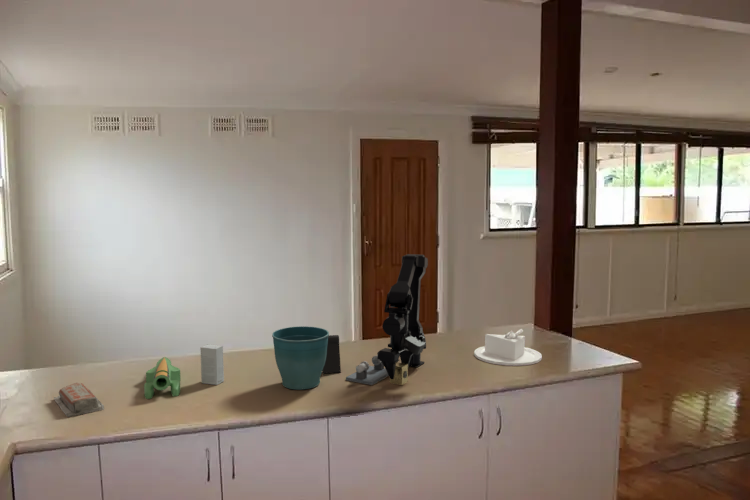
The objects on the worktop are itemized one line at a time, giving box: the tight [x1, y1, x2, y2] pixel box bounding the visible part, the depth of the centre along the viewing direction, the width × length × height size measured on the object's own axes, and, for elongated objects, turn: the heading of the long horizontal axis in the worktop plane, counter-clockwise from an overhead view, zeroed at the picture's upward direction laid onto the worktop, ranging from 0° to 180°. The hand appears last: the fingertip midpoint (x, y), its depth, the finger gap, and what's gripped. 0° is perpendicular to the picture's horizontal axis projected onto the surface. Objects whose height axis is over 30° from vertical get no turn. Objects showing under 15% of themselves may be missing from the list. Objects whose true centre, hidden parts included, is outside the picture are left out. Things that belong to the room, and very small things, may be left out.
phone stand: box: [322, 334, 342, 375], centre depth 213 cm, size 9×6×12 cm, turn 12°
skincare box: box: [199, 344, 225, 386], centre depth 199 cm, size 6×4×12 cm
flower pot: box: [271, 325, 330, 391], centre depth 197 cm, size 18×18×17 cm
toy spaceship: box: [143, 356, 181, 400], centre depth 200 cm, size 32×10×7 cm, turn 17°
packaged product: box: [53, 382, 105, 418], centre depth 180 cm, size 18×5×10 cm
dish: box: [473, 328, 542, 367], centre depth 231 cm, size 25×25×11 cm
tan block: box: [389, 361, 409, 386], centre depth 200 cm, size 5×4×6 cm
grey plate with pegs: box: [345, 355, 389, 386], centre depth 206 cm, size 15×10×6 cm, turn 150°
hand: (398, 375), depth 200 cm, fingers open, 9 cm apart
